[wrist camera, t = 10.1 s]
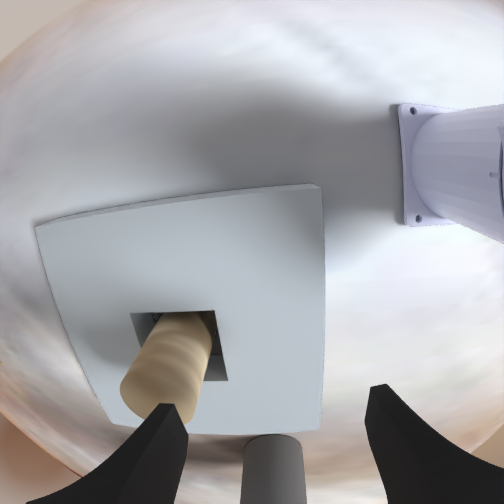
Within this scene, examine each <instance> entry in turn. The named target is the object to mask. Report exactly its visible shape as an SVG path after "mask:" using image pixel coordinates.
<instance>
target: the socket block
mask: <svg viewBox="0 0 504 504" xmlns="http://www.w3.org/2000/svg"><path fill="white" fill-rule="evenodd" d="M35 231H36V236H37V240H38V245H39V249H40V253H41V257H42V260H43V264H44V268H45V271H46V275H47V278H48V281H49V284H50V288H51V291H52V294H53V297H54V300H55V303H56V306H57V308H58V311H59V314H60V317H61V319H62V322H63V325H64V327H65V330H66V332H67V335H68V337H69V339H70V342H71V344H72V347H73V349H74V351H75V353H76V356H77V358H78V360H79V362H80V364H81V366H82V368H83V371H84V373H85V375H86V377H87V379H88V381H89V383H90V385H91V387H92V388H93V390H94V392H95V394H96V396H97V398H98V400H99V401H100V403H101V405H102V407H103V409H104V410H105V412H106V414H107V415H108V417H109V419H110V420H111V422H112V423H113V424H118V425H124V426H130V427H137V428H138V427H139V426H140V425H141V424H142V423H143V421H144V419H142V418H141V417H139V416H137V415H136V414H135V413H134V412H132V411H131V410H130V409H129V408H128V407H127V405H126V404H125V403H124V401H123V399H122V397H121V395H120V384H121V382H122V380H123V378H124V377H125V375H126V373H127V371H128V370H129V368H130V366H131V365H132V363H133V361H134V360H135V358H136V356H137V355H138V353H139V351H140V350H141V348H142V346H143V345H144V343H145V341H146V340H147V338H148V336H149V335H150V333H151V331H152V330H153V328H154V326H155V324H154V321H153V317H152V314H151V312H184V311H207V310H215V315H216V321H217V326H218V331H219V337H220V342H221V347H222V352H223V355H210V356H209V360H208V364H207V368H206V371H205V375H204V379H203V383H202V387H201V390H200V394H199V398H198V402H197V406H196V409H195V413H194V416H193V418H192V420H191V421H189V422H188V423H187V424H184V426H185V429H186V431H187V433H195V434H219V435H250V434H275V433H289V432H300V431H310V430H319V429H320V419H321V406H322V391H323V373H324V348H325V246H324V221H323V202H322V188H321V187H319V186H317V185H315V184H312V183H309V184H295V185H282V186H271V187H260V188H249V189H239V190H230V191H221V192H213V193H204V194H197V195H189V196H182V197H174V198H167V199H161V200H154V201H147V202H141V203H135V204H129V205H123V206H117V207H112V208H106V209H101V210H95V211H90V212H85V213H80V214H75V215H70V216H65V217H61V218H58V219H55V220H52V221H50V222H47V223H44V224H42V225H39V226H37V227H35Z"/></svg>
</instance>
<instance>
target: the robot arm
mask: <svg viewBox="0 0 504 504" xmlns="http://www.w3.org/2000/svg"><path fill="white" fill-rule="evenodd" d="M410 108H412V109H413V110H414V115H413V114H411V112H410ZM398 116H399V125H400V134H401V146H402V161H403V183H404V222H405V224H406V225H408V226H410V227H416V226H431V225H446V224H461V225H463V226H465V227H468V228H470V229H472V230H474V231H477V232H479V233H481V234H483V235H486V236H488V237H490V238H492V239H494V240H496V241H498V242H500V243H503V244H504V104H501V105H493V106H485V107H478V108H472V109H466V110H455V109H449V108H443V107H436V106H428V105H420V104H411V103H403V104H400V105H399V107H398ZM417 215H419V220H418V221H417V222H416V220H415V219H416V216H417ZM365 426H366V431H367V436H368V440H369V444H370V447H371V450H372V453H373V456H374V458H375V461H376V464H377V467H378V470H379V473H380V476H381V479H382V482H383V484H384V488H385V491H386V495H387V500H388V504H504V468H501V467H498V466H495V465H493V464H490V463H488V462H486V461H484V460H481V459H479V458H477V457H475V456H473V455H471V454H469V453H468V452H466V451H464V450H463V449H461V448H459V447H458V446H456V445H455V444H453V443H452V442H450V441H449V440H447V439H446V438H445V437H443V436H442V435H441V434H439V433H438V432H437V431H436V430H434V429H433V428H432V427H431V426H429V425H428V424H427V423H426V422H425V421H424V420H423V419H422V418H420V417H419V416H418V415H417V414H416V413H415V412H414V411H413V410H412V409H411V408H410V407H409V406H408V405H407V404H406V403H405V402H404V401H403V400H402V399H401V398H400V397H399V396H398V395H397V394H396V393H395V392H394V391H393V390H392V389H391V388H390V387H389V386H388V385H387V384H382V385H378V386H373V387H370V394H369V399H368V405H367V410H366V416H365ZM188 436H189V435H188V433H187V431H186V429H185V426H184V424H183V422H182V420H181V418H180V416H179V413H178V411H177V409H176V407H175V404H171V403H159V404H158V405H157V406H156V408H155V409H154V410H153V411H152V412H151V413H150V414H149V416H148V417H147V418H146V419H145V420H144V421H143V423H142V424H141V425H140V426H139V427H138V428H137V429H136V430H135V432H134V433H133V434H132V435H131V436H130V437H129V438H128V439H127V440H126V441H125V442H124V443H123V444H122V445H121V446H120V447H119V448H118V449H117V450H116V451H115V452H114V453H113V454H112V455H111V456H110V457H109V458H108V459H106V460H105V461H104V462H103V463H102V464H100V465H99V466H98V467H97V468H95V469H94V470H93V471H91V472H90V473H88V474H87V475H85V476H84V477H82V478H81V479H79V480H77V481H76V482H74V483H73V484H71V485H69V486H67V487H65V488H63V489H61V490H59V491H57V492H55V493H52V494H50V495H47V496H45V497H42V498H39V499H35V500H32V501H29V502H27V503H26V504H174V500H175V496H176V493H177V489H178V485H179V482H180V478H181V474H182V471H183V467H184V463H185V459H186V453H187V446H188Z"/></svg>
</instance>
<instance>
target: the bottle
mask: <svg viewBox="0 0 504 504" xmlns="http://www.w3.org/2000/svg"><path fill="white" fill-rule="evenodd" d="M240 504H307V498H306V485H305V473H304V462H303V453H302V447H301V444H300V442H299V441H298V440H296V439H295V438H292V437H289V436H285V435H265V436H260V437H257V438H255V439H253V440H251V441H250V442H248V443H247V445H246V447H245V452H244V462H243V474H242V486H241V499H240Z"/></svg>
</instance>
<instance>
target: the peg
mask: <svg viewBox="0 0 504 504" xmlns="http://www.w3.org/2000/svg"><path fill="white" fill-rule="evenodd" d="M216 330H217V322H216V318H215V316H214V314H213V313H212V311H211V310H207V311H184V312H163V314H162V315H161V317H160V318H159V320H158V322H157V323H156V325H155V326H154V328H153V330H152V331H151V333H150V335H149V336H148V338H147V340H146V341H145V343H144V345H143V346H142V348H141V350H140V351H139V353H138V355H137V356H136V358H135V360H134V361H133V363H132V365H131V366H130V368H129V370H128V371H127V373H126V375H125V377H124V378H123V380H122V382H121V384H120V395H121V397H122V399H123V401H124V403H125V404H126V405H127V407H128V408H129V409H130V410H131V411H132V412H134V413H135V414H136V415H137V416H139V417H141V418H142V419H144V420H145V419H146V418H147V417H148V416H149V414H150V413H151V412H152V411H153V410H154V409H155V408H156V406H157V405H158V404H159V403H171V404H175V407H176V409H177V411H178V413H179V416H180V418H181V420H182V422H183V424H187V423H188V422H189V421H191V420H192V418H193V416H194V413H195V409H196V406H197V402H198V398H199V394H200V390H201V387H202V383H203V379H204V375H205V371H206V368H207V364H208V360H209V356H210V353H211V349H212V345H213V342H214V338H215V334H216Z"/></svg>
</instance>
